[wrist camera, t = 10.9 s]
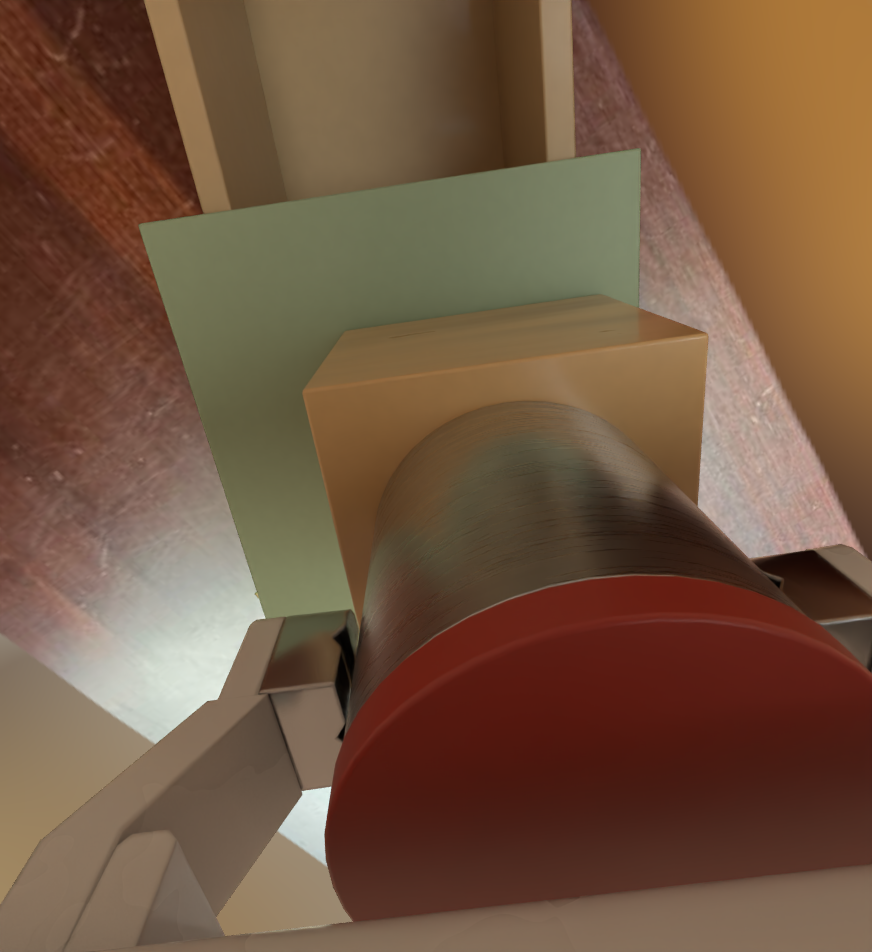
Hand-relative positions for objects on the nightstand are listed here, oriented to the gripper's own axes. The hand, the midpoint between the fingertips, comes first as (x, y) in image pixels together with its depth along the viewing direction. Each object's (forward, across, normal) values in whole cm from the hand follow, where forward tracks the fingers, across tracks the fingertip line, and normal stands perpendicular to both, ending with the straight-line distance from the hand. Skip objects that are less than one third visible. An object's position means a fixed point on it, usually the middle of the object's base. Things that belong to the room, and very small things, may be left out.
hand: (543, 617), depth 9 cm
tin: (+2, 0, 0) cm, 2 cm away
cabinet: (+19, +2, +1) cm, 19 cm away
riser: (+8, 0, 0) cm, 8 cm away
